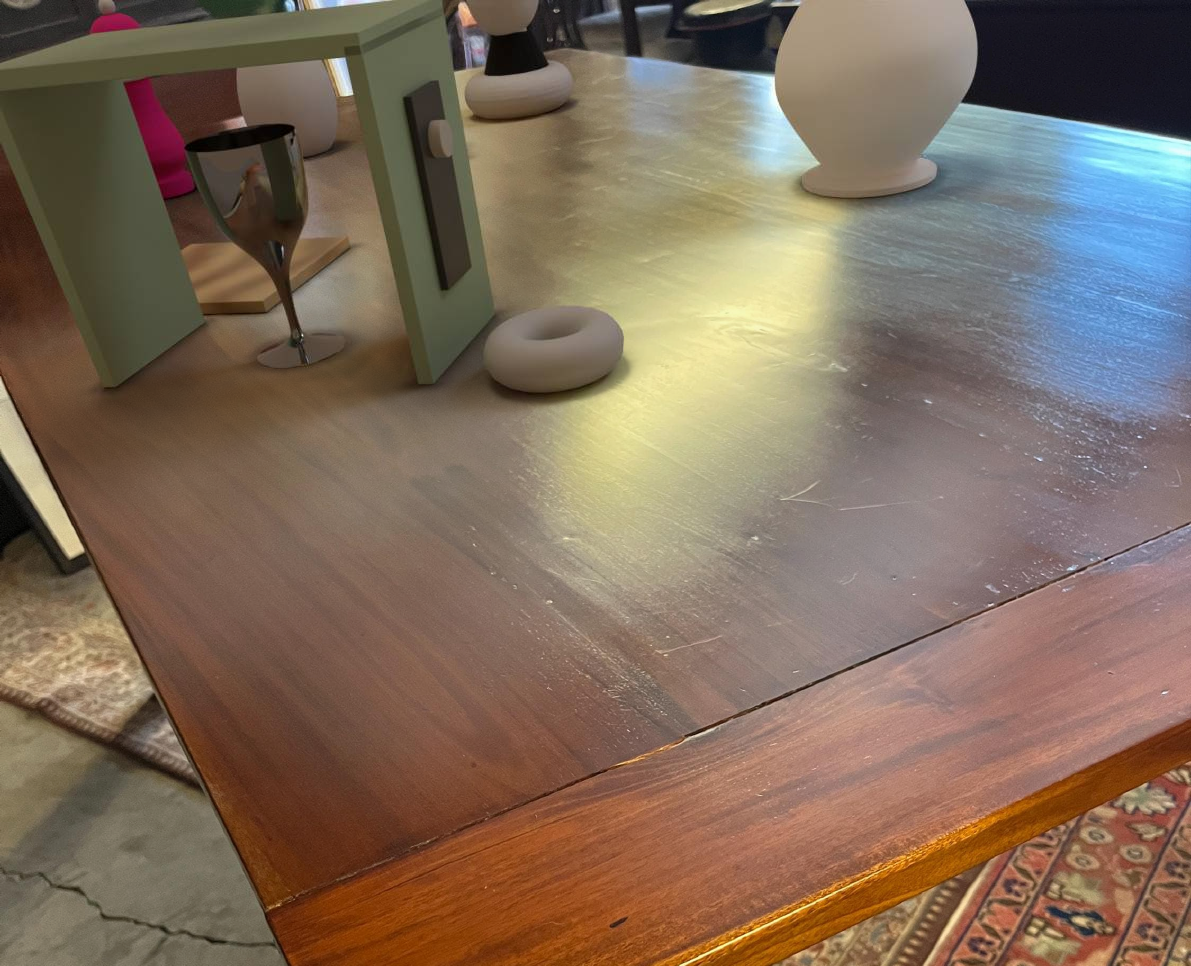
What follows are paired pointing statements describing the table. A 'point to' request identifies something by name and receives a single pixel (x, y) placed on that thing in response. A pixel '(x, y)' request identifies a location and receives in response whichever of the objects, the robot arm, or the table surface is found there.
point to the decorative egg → (291, 101)
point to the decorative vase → (873, 88)
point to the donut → (553, 349)
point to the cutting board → (251, 273)
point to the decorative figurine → (514, 65)
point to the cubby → (136, 207)
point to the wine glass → (262, 216)
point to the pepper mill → (150, 116)
